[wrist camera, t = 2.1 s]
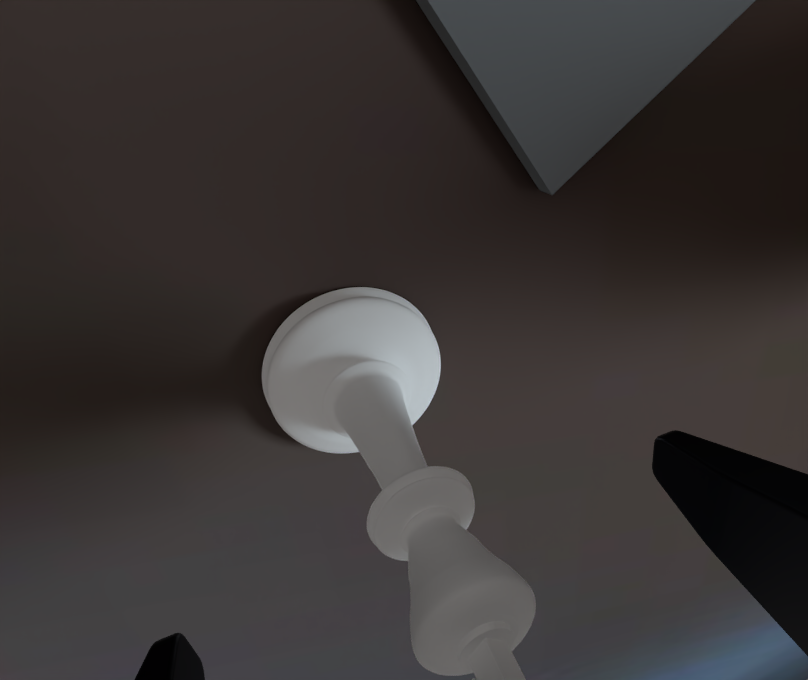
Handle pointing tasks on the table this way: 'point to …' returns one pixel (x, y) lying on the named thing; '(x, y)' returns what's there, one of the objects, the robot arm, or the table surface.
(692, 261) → the table surface
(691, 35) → the slate mat
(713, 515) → the robot arm
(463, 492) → the chess piece
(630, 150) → the table surface
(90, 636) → the table surface
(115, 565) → the table surface
